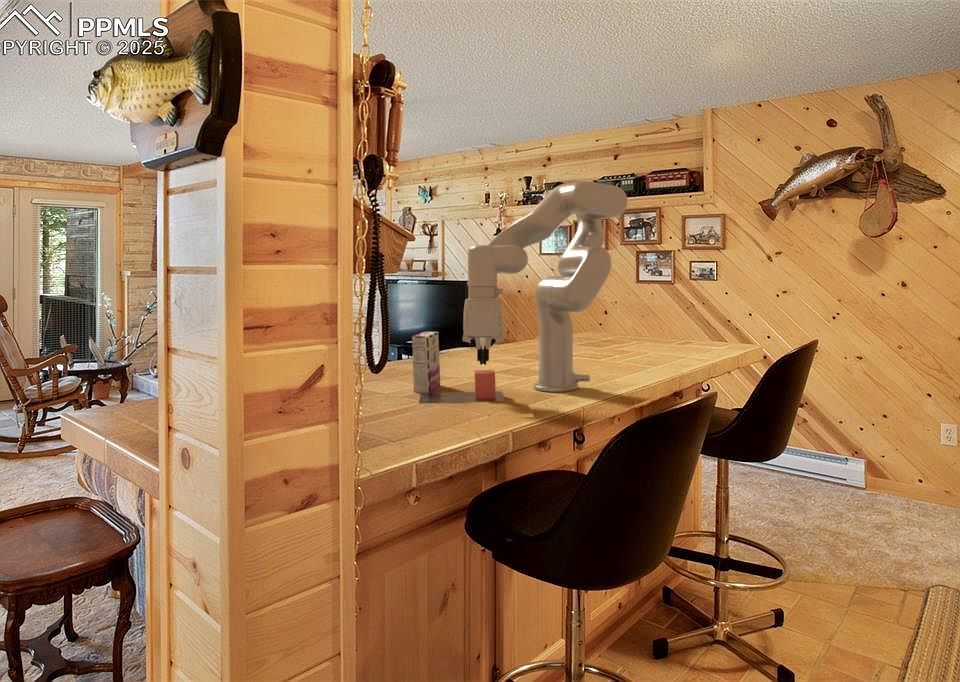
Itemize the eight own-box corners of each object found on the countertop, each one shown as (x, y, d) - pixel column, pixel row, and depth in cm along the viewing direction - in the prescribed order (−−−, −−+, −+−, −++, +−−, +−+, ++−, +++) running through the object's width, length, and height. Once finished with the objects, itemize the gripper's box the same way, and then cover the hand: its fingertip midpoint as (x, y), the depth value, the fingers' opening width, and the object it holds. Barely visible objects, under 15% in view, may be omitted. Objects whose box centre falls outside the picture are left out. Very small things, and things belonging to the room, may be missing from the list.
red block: (494, 394, 174) (494, 369, 173) (495, 398, 169) (495, 373, 168) (474, 394, 174) (474, 370, 173) (475, 398, 169) (475, 373, 168)
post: (501, 394, 178) (501, 373, 177) (505, 404, 165) (505, 381, 164) (421, 396, 177) (420, 375, 176) (418, 406, 164) (418, 383, 163)
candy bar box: (424, 387, 189) (422, 331, 188) (440, 387, 188) (439, 331, 187) (412, 395, 179) (410, 335, 177) (430, 395, 178) (428, 336, 176)
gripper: (510, 292, 172) (510, 361, 174) (453, 293, 171) (454, 362, 173) (513, 294, 165) (512, 365, 167) (453, 294, 164) (454, 366, 166)
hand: (483, 363), depth 170 cm, fingers closed
